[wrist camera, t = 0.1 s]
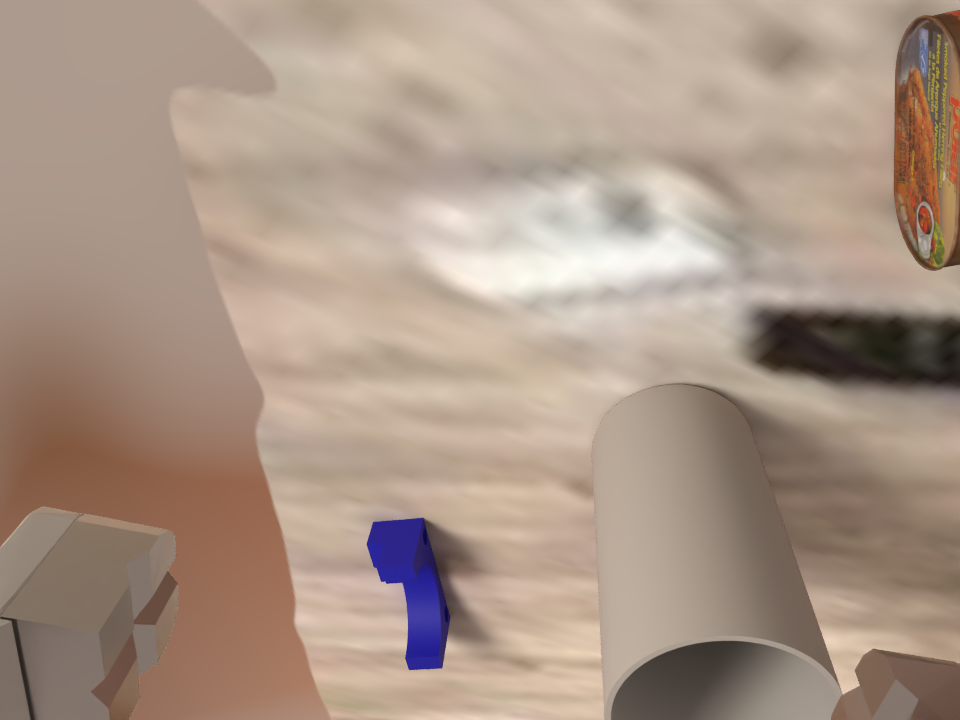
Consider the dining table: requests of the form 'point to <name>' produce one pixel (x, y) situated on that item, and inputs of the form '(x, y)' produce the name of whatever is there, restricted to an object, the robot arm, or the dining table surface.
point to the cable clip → (413, 586)
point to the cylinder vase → (698, 570)
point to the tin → (929, 139)
